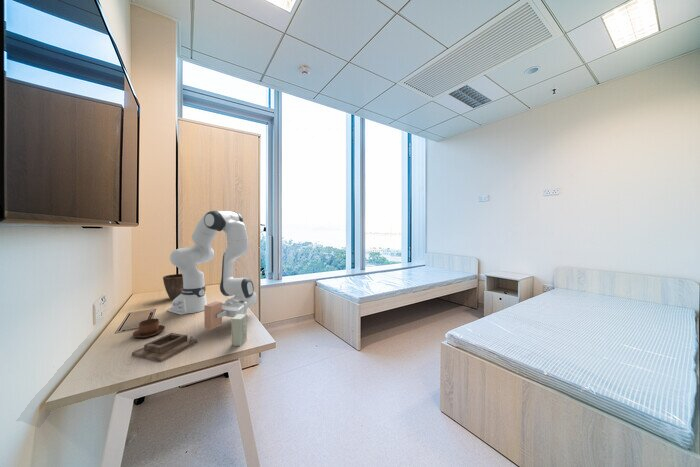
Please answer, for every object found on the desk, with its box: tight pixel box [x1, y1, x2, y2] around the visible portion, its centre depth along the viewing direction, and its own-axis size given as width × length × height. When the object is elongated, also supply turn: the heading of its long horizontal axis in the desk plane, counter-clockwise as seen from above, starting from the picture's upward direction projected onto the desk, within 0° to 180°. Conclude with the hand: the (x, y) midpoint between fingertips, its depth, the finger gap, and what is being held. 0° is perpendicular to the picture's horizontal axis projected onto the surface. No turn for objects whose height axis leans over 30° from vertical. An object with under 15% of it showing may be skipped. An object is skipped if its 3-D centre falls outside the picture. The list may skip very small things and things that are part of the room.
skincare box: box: [230, 313, 248, 347], centre depth 108 cm, size 6×4×12 cm
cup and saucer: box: [132, 318, 166, 339], centre depth 116 cm, size 12×12×6 cm
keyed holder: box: [131, 332, 199, 363], centre depth 103 cm, size 16×16×4 cm
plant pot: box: [162, 273, 183, 301], centre depth 171 cm, size 15×15×16 cm
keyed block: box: [203, 300, 223, 330], centre depth 117 cm, size 4×6×11 cm, turn 164°
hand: (211, 315), depth 116 cm, fingers closed on keyed block, 4 cm apart
